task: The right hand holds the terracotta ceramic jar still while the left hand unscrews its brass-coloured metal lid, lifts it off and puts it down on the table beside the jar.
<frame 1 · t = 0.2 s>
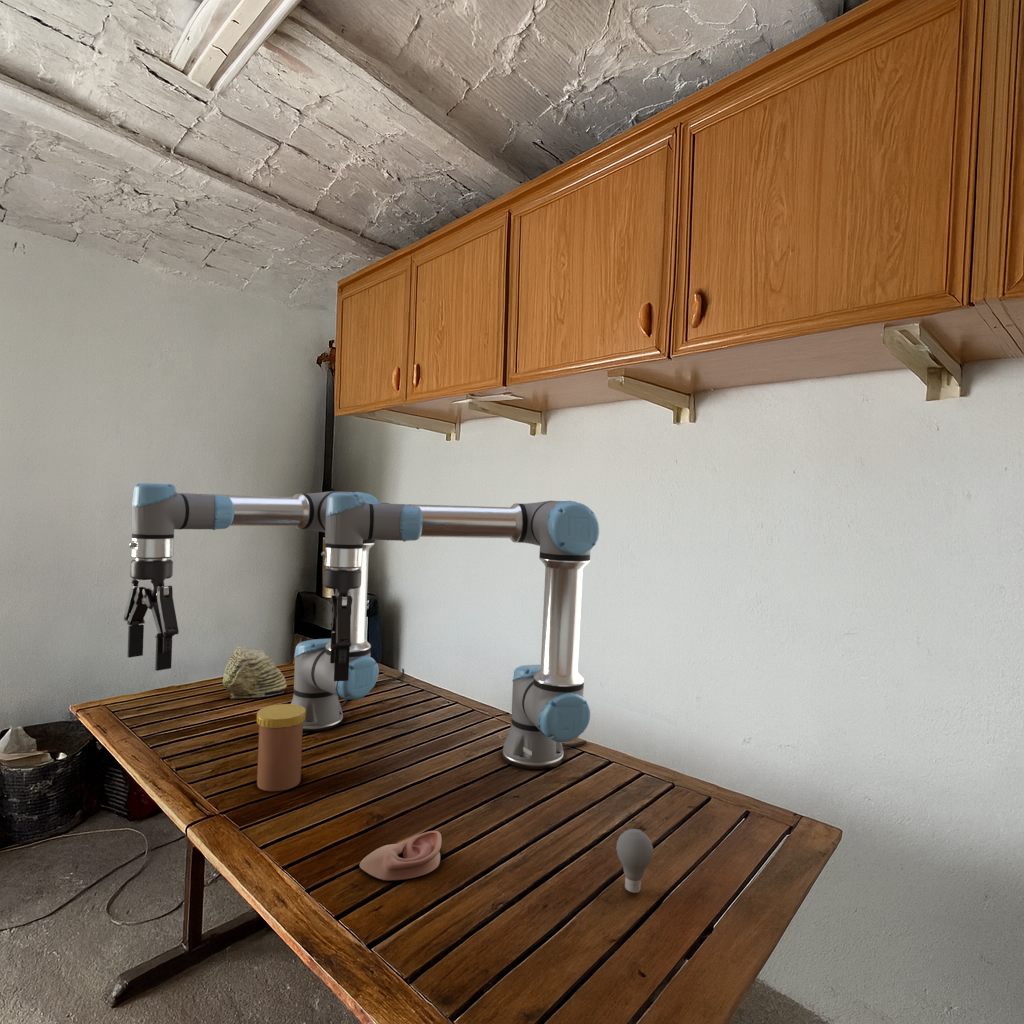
left hand: (148, 662, 129), 28 cm above the table, tool pointing down, fingers open, 13 cm apart
right hand: (338, 671, 130), 28 cm above the table, tool pointing down, fingers open, 13 cm apart
light bulb: (632, 891, 106), on the table
jar: (279, 781, 140), on the table
fossil: (254, 694, 198), on the table
lid: (281, 712, 139), point 15 cm above the table, screwed on, not yet turned
anatomical model: (401, 863, 111), on the table
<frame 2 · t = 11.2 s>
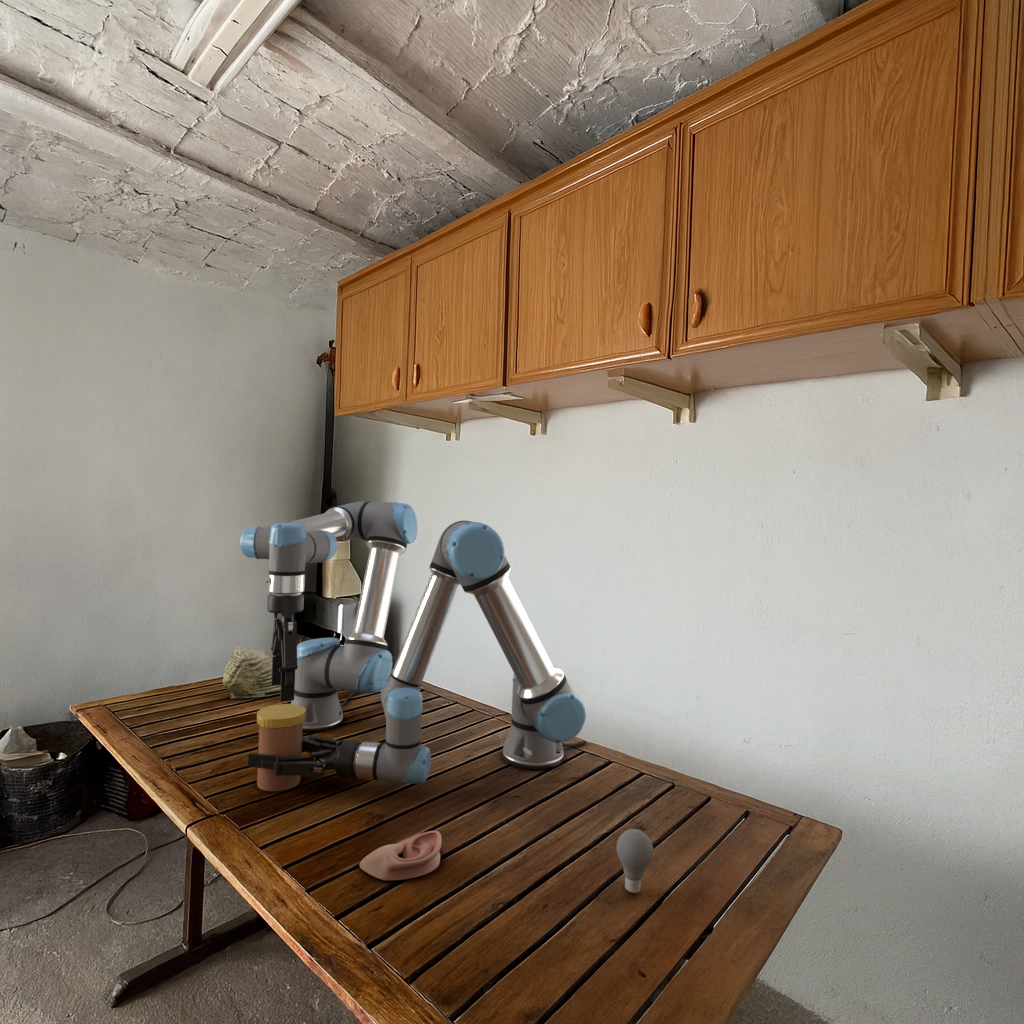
left hand: (282, 692, 139), 20 cm above the table, tool pointing down, fingers open, 11 cm apart
right hand: (260, 750, 140), 7 cm above the table, tool horizontal, fingers closed on jar, 9 cm apart
jar: (279, 781, 140), on the table, touching right hand
everything else where it was.
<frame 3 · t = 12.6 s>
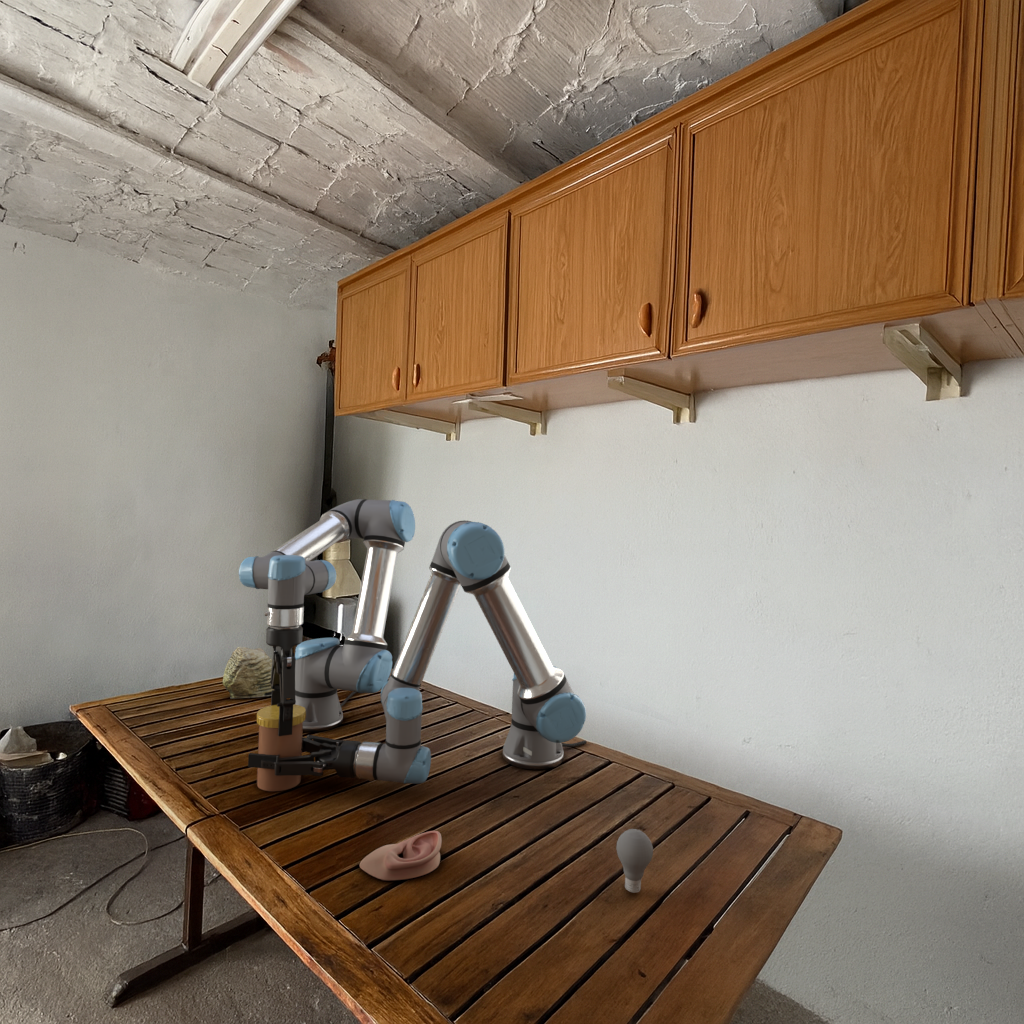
left hand: (281, 726, 140), 12 cm above the table, tool pointing down, fingers closed on lid, 10 cm apart
right hand: (260, 750, 140), 7 cm above the table, tool horizontal, fingers closed on jar, 9 cm apart
jar: (279, 781, 140), on the table, touching right hand
lid: (281, 712, 139), point 15 cm above the table, screwed on, not yet turned, touching left hand
everything else where it was.
when the left hand's fingers open (13 cm above the table, at t = 14.2 s): lid stays where it is, point 16 cm above the table.
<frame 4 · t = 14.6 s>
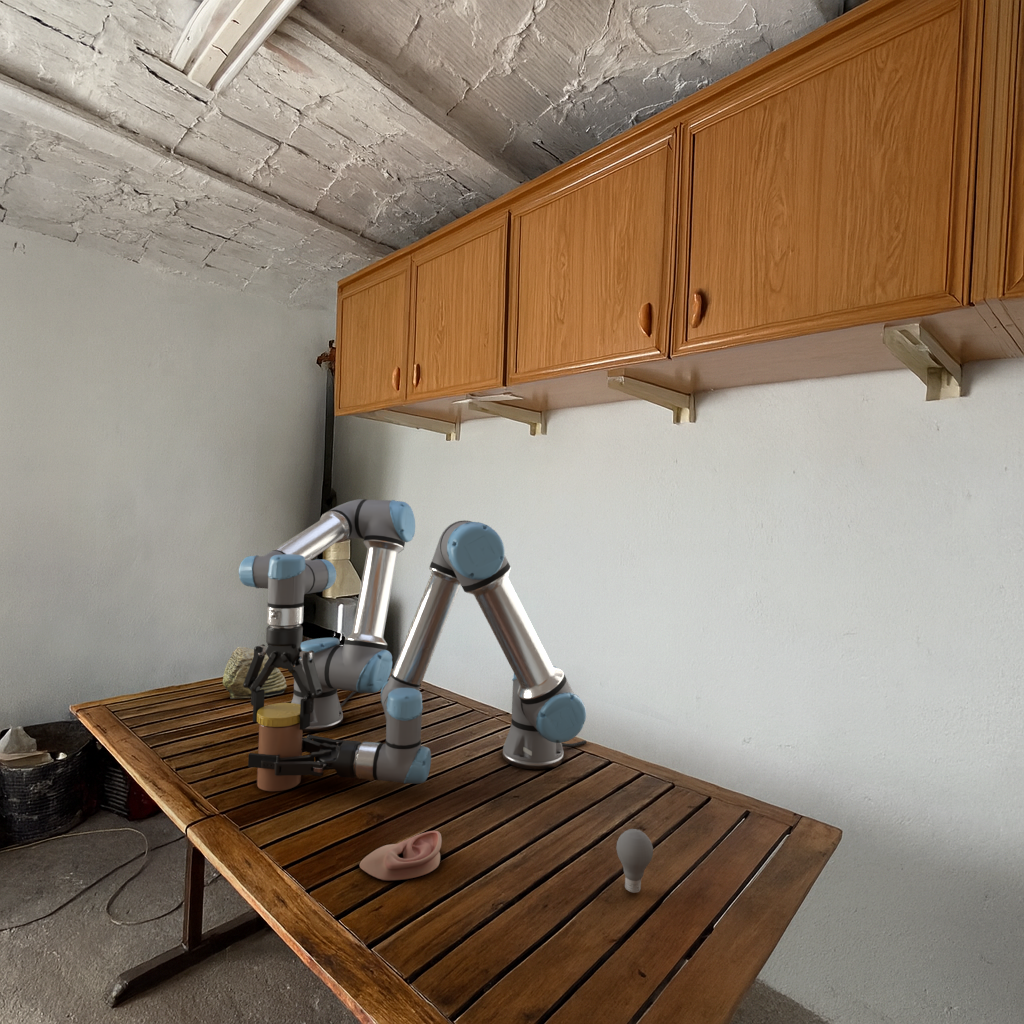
left hand: (281, 723, 140), 13 cm above the table, tool pointing down, fingers open, 11 cm apart
right hand: (260, 750, 140), 7 cm above the table, tool horizontal, fingers closed on jar, 9 cm apart
jar: (279, 781, 140), on the table, touching right hand
lid: (281, 711, 139), point 16 cm above the table, turned 82° so far, risen 0.2 cm, still on its thread
everything else where it was.
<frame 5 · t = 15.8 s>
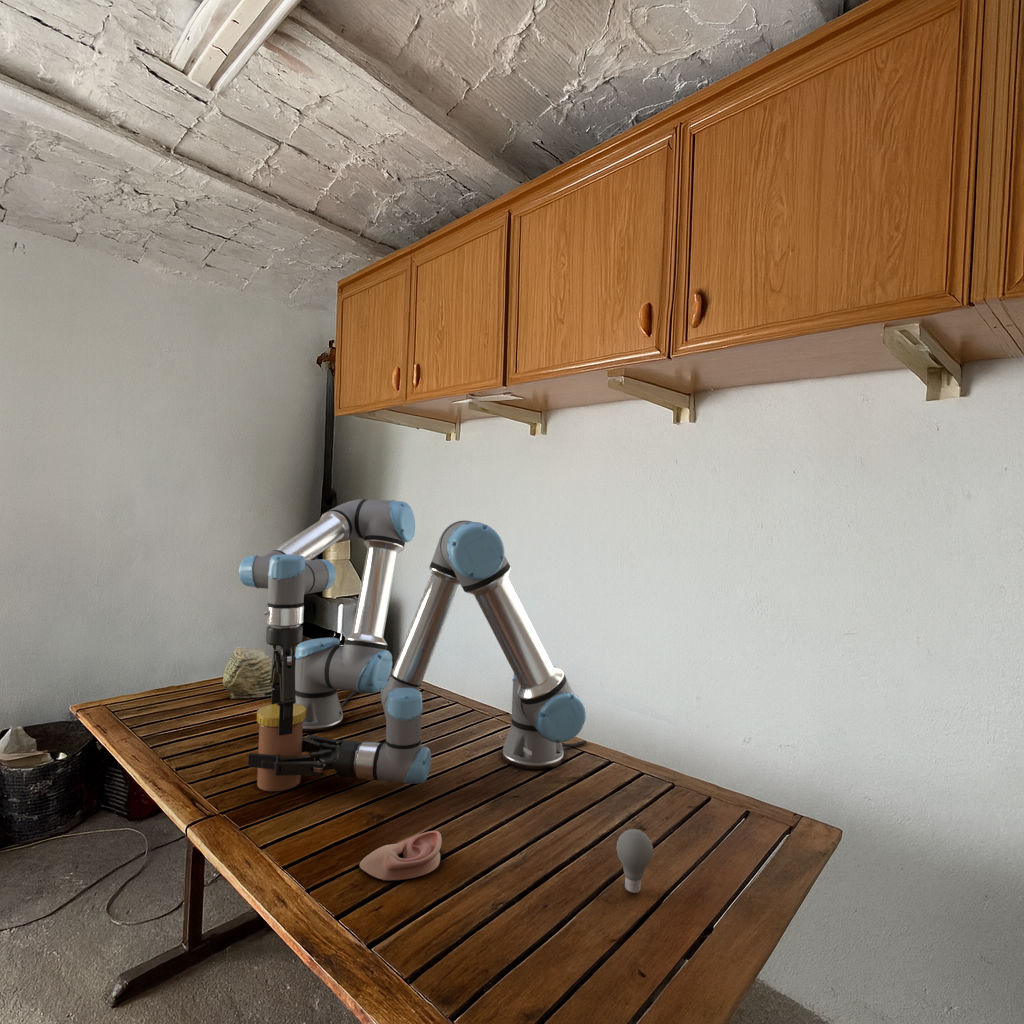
left hand: (281, 725, 140), 13 cm above the table, tool pointing down, fingers closed on lid, 10 cm apart
right hand: (260, 750, 140), 7 cm above the table, tool horizontal, fingers closed on jar, 9 cm apart
jar: (279, 781, 140), on the table, touching right hand
lid: (281, 711, 139), point 16 cm above the table, turned 82° so far, risen 0.2 cm, still on its thread, touching left hand
everything else where it was.
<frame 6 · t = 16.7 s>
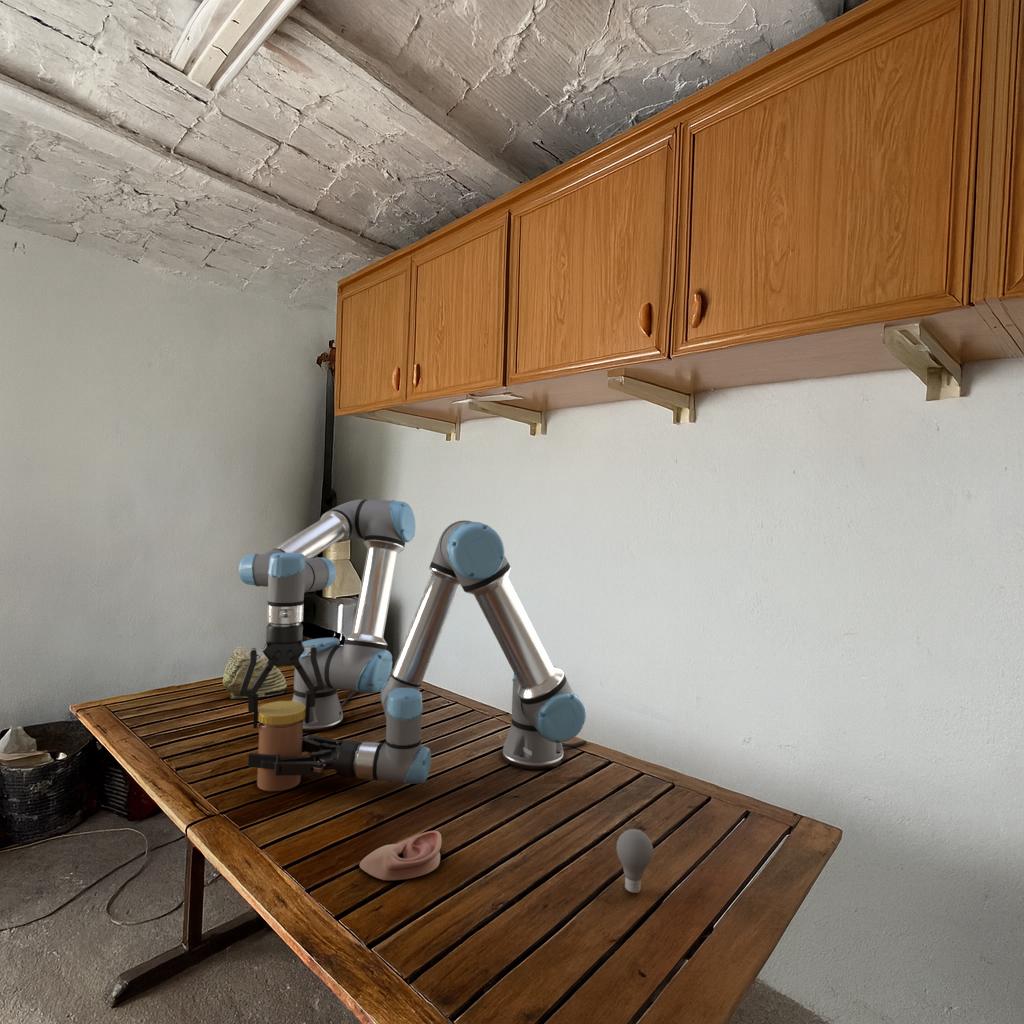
left hand: (281, 723, 140), 13 cm above the table, tool pointing down, fingers closed on lid, 10 cm apart
right hand: (260, 750, 140), 7 cm above the table, tool horizontal, fingers closed on jar, 9 cm apart
jar: (279, 781, 140), on the table, touching right hand
lid: (281, 709, 140), point 16 cm above the table, off its thread, touching left hand
everything else where it was.
when the left hand's fingers open (0 cm above the table, at t = 22.0 s): lid drops 2 cm, point 2 cm above the table.
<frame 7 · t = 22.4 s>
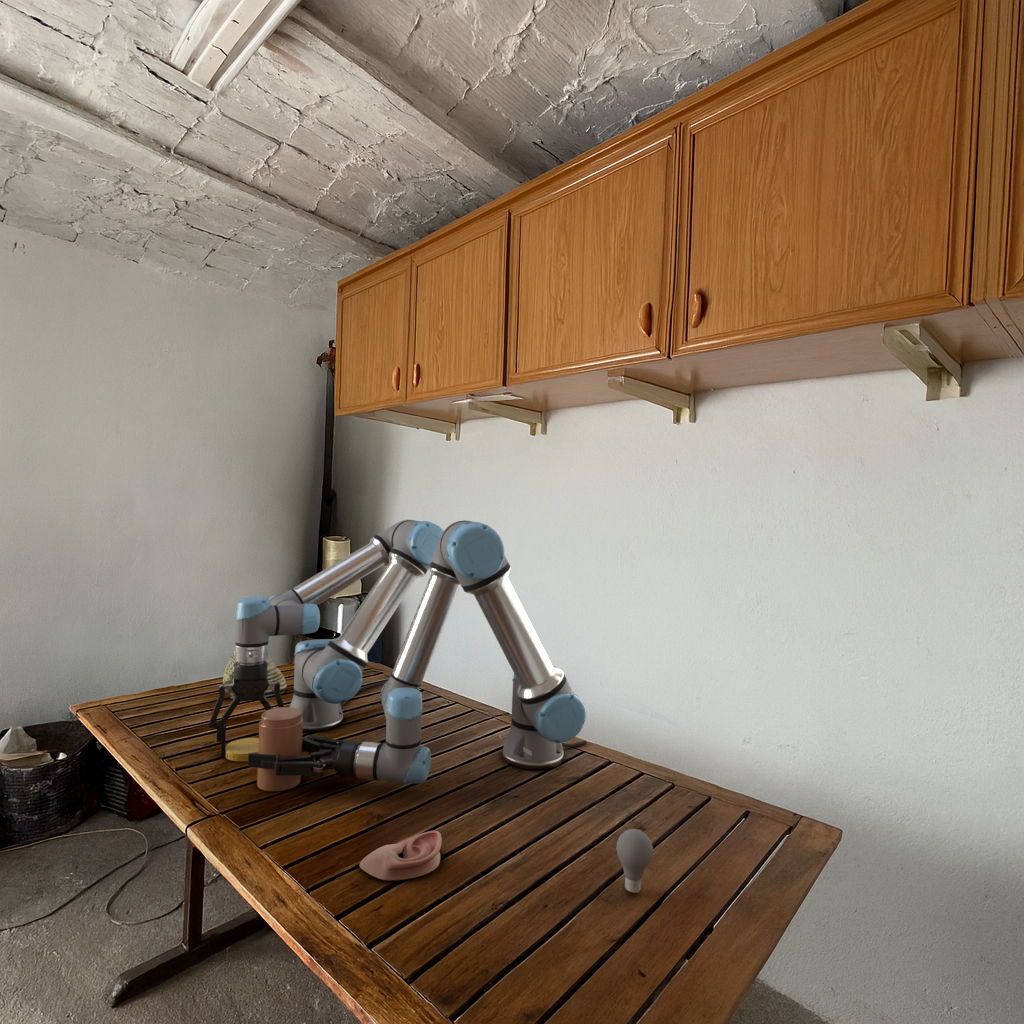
left hand: (247, 752, 154), 0 cm above the table, tool pointing down, fingers open, 10 cm apart
right hand: (260, 750, 140), 7 cm above the table, tool horizontal, fingers closed on jar, 9 cm apart
jar: (279, 781, 140), on the table, touching right hand
lid: (247, 746, 154), point 2 cm above the table, off its thread
everything else where it was.
when the right hand's fingers open (7 cm above the table, at t = 23.6 s): jar stays where it is, on the table.
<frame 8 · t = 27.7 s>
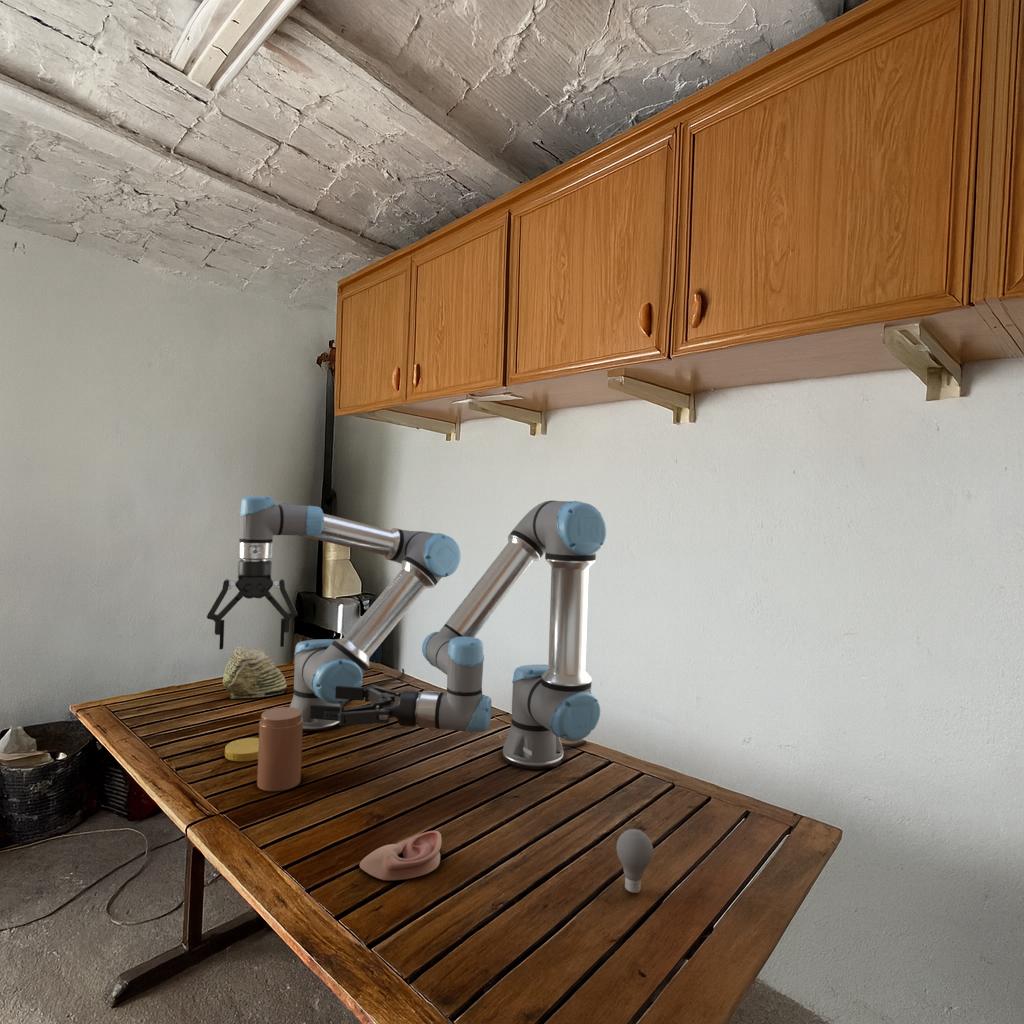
left hand: (252, 647, 154), 26 cm above the table, tool pointing down, fingers open, 13 cm apart
right hand: (323, 701, 138), 19 cm above the table, tool horizontal, fingers open, 13 cm apart
jar: (279, 781, 140), on the table
everything else where it was.
at the end: lid came off its thread; lid point 1.6 cm above the table; the left hand is holding nothing; the right hand is holding nothing; jar tilted 0°; jar moved 0.0 cm from its start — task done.
